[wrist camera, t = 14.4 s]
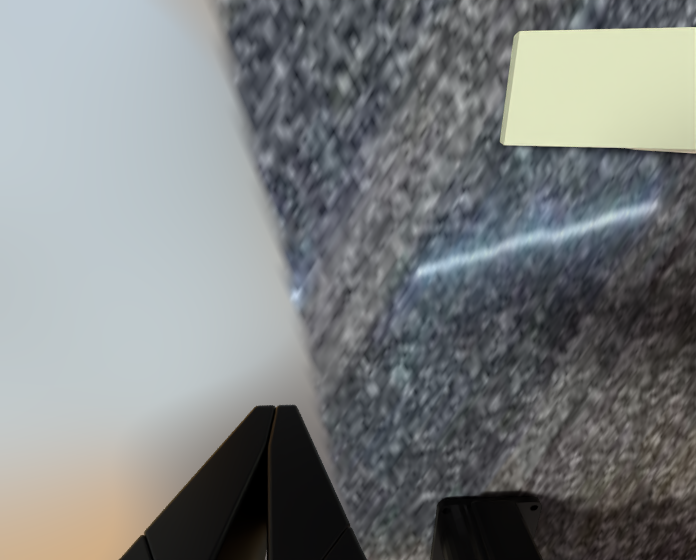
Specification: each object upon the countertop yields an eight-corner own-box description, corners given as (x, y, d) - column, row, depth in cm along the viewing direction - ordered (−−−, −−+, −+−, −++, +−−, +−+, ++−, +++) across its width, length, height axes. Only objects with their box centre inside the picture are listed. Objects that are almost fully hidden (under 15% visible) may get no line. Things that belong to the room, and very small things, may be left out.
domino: (499, 141, 19) (695, 146, 17) (504, 145, 17) (715, 149, 16) (513, 36, 17) (730, 31, 16) (519, 30, 16) (755, 26, 14)
